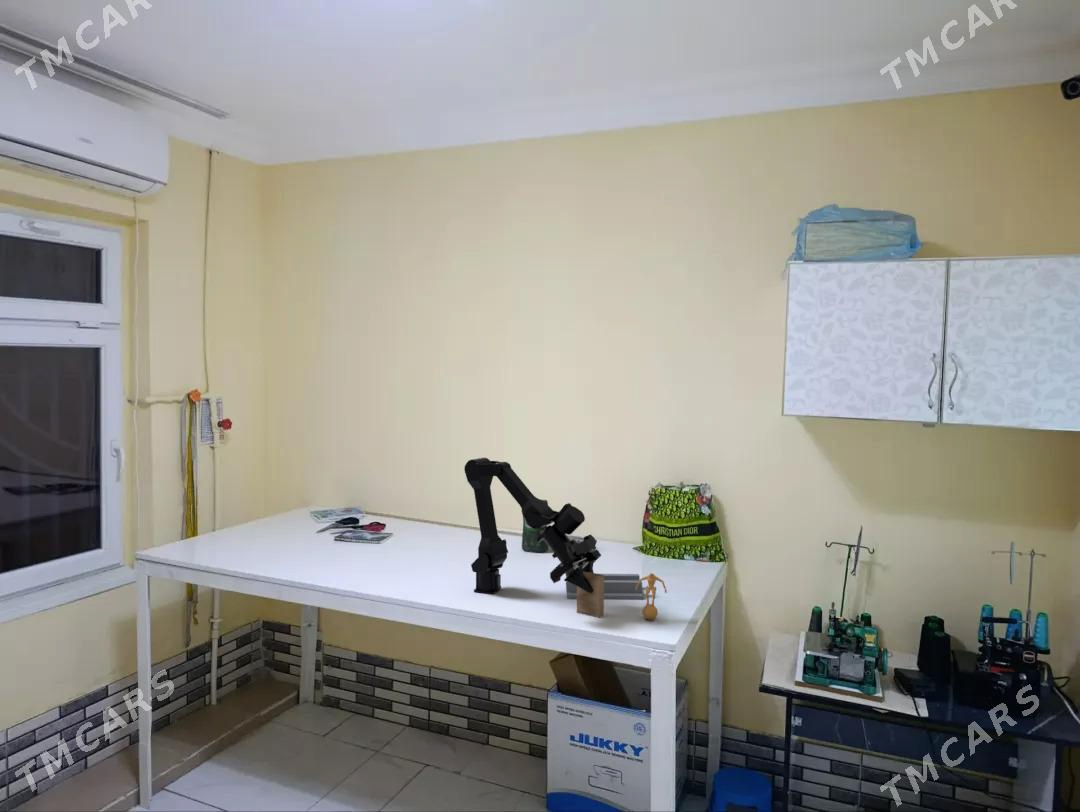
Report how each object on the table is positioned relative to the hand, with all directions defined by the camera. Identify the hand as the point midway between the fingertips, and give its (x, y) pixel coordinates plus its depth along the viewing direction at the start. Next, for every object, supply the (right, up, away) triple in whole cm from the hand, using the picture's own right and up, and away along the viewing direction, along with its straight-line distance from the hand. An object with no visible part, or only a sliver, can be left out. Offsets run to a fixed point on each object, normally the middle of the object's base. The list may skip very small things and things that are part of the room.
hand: (594, 590), depth 194 cm
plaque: (-1, -7, +1) cm, 7 cm away
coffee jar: (-17, -3, +67) cm, 69 cm away
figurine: (+15, -7, -2) cm, 16 cm away
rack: (+4, -5, +21) cm, 22 cm away
